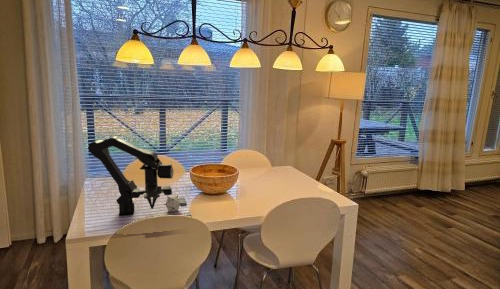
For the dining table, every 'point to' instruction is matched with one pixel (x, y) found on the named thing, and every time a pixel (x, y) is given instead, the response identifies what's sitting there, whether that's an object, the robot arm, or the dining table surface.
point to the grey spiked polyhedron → (172, 203)
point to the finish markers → (183, 201)
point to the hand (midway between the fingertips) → (152, 208)
